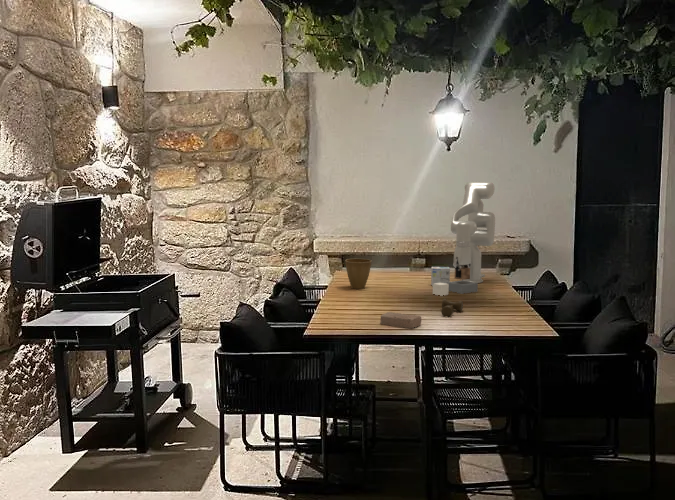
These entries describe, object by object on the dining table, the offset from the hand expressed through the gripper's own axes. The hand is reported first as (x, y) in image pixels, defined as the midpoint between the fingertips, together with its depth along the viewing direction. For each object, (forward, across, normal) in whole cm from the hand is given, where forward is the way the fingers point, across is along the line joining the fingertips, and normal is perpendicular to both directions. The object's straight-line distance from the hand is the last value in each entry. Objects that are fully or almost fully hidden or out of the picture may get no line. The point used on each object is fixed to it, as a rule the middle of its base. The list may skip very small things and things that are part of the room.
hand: (462, 276), depth 358 cm
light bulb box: (+8, -4, -19) cm, 21 cm away
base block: (+9, 0, 0) cm, 9 cm away
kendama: (+9, +47, +31) cm, 57 cm away
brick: (+9, +83, +32) cm, 89 cm away
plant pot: (+8, +38, -44) cm, 59 cm away
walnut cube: (+1, 0, 0) cm, 1 cm away
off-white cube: (+8, +17, -1) cm, 19 cm away
